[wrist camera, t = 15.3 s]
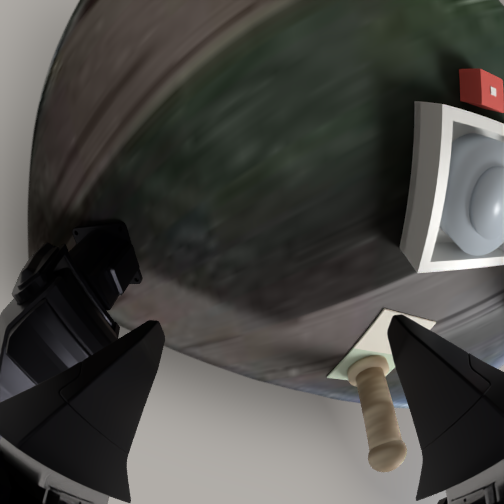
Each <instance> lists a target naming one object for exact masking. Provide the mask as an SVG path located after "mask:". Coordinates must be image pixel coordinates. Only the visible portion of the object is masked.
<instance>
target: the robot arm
mask: <svg viewBox="0 0 504 504" xmlns="http://www.w3.org/2000/svg"><path fill="white" fill-rule="evenodd" d="M120 227H122V229H120ZM77 232H78V233H77ZM73 235H74V238H75V241H76V245H75V246H74V247H73V248H72V249H71V250H70V251H69V252H68V248H67V247H66V245H65V244H63V245H61V246H59V247H55V246H53V245H51V244H50V243H48V242H47V243H46V244H44V245H43V246H42V247H41V248H39V249H38V250H37V251H36V252H35V253H34V254H33V255H32V256H31V257H30V259H29V260H28V262H27V263H26V265H25V266H24V268H23V269H22V271H21V273H20V275H19V277H18V279H17V282H16V285H15V287H14V289H13V292H12V296H13V297H14V299H13V300H12V301H11V302H10V304H8V306H7V307H6V308H5V309H4V310H3V311H2V313H1V315H0V504H107V503H108V499H109V496H110V497H113V498H116V499H119V500H122V501H125V502H128V503H130V502H131V498H130V491H129V484H128V475H127V457H128V454H129V451H130V448H131V444H132V442H133V438H134V436H135V433H136V430H137V427H138V424H139V421H140V418H141V415H142V412H143V409H144V406H145V404H146V401H147V398H148V395H149V392H150V390H151V387H152V384H153V381H154V379H155V376H156V373H157V370H158V367H159V363H160V359H161V354H162V350H163V346H164V342H165V335H164V332H163V330H162V327H161V325H160V323H159V321H154V320H149V321H147V322H145V323H144V324H142V325H141V326H139V327H137V328H136V329H134V330H132V331H131V332H129V333H127V334H126V335H124V336H123V337H121V338H119V339H118V335H119V330H120V327H119V325H118V324H117V323H116V322H114V320H113V319H112V318H111V316H110V315H109V314H108V312H107V311H106V310H110V309H111V308H112V306H113V304H114V303H115V301H116V300H117V298H118V296H119V295H122V294H123V293H124V291H125V290H126V288H127V287H128V285H129V284H140V283H141V281H142V275H141V272H140V269H139V264H138V261H137V258H136V255H135V251H134V248H133V245H132V244H131V241H130V237H129V234H128V230H127V227H126V225H125V223H123V222H115V223H105V224H96V225H87V226H79V227H75V228H74V229H73ZM136 278H138V279H136ZM387 336H388V340H389V344H390V348H391V352H392V357H393V361H394V364H395V368H396V370H397V373H398V376H399V379H400V382H401V385H402V387H403V390H404V393H405V396H406V399H407V402H408V406H409V409H410V412H411V415H412V418H413V422H414V425H415V428H416V432H417V436H418V439H419V443H420V446H421V450H422V455H423V464H422V471H421V476H420V482H419V486H418V491H417V496H416V501H418V500H421V499H423V498H426V497H429V496H432V495H434V494H437V493H439V492H442V491H444V490H446V494H447V497H446V498H443V499H441V500H439V502H438V504H504V372H502V371H501V370H499V369H497V368H495V367H493V366H491V365H489V364H487V363H485V362H483V361H482V360H480V359H478V358H476V357H475V356H473V355H471V354H470V353H469V354H468V353H467V352H466V351H464V350H462V349H461V348H459V347H457V346H456V345H454V344H452V343H451V342H449V341H447V340H446V339H444V338H442V337H441V336H439V335H437V334H435V333H434V332H432V331H430V330H429V329H427V328H425V327H423V326H422V325H420V324H418V323H417V322H415V321H413V320H411V319H410V318H408V317H406V316H404V315H402V314H400V315H394V316H393V317H392V319H391V322H390V324H389V327H388V330H387Z"/></svg>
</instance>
